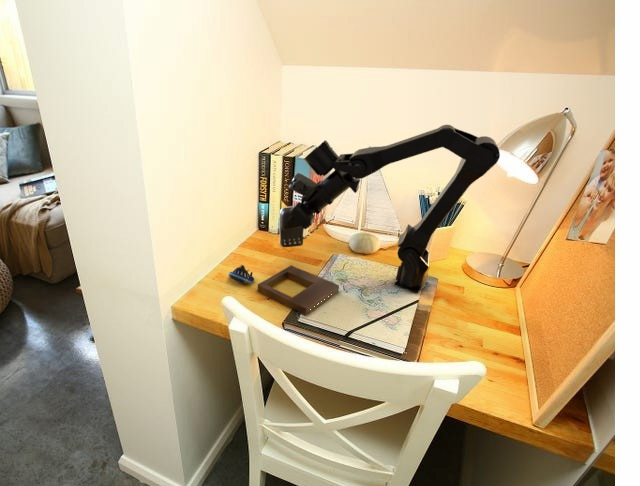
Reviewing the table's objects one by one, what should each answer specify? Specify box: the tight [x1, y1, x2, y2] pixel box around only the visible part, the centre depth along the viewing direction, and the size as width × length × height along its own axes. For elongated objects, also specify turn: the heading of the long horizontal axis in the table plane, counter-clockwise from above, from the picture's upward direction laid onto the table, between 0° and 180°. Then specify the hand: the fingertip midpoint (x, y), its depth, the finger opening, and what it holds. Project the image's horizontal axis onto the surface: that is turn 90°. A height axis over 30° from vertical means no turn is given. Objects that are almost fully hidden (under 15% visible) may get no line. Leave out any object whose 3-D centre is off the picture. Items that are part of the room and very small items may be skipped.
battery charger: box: [278, 205, 305, 248], centre depth 111 cm, size 7×4×11 cm, turn 97°
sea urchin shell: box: [348, 232, 381, 255], centre depth 123 cm, size 9×8×8 cm
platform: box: [257, 264, 340, 317], centre depth 104 cm, size 16×14×2 cm
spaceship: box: [227, 264, 255, 285], centre depth 110 cm, size 7×6×5 cm
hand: (287, 223), depth 112 cm, fingers closed on battery charger, 6 cm apart
